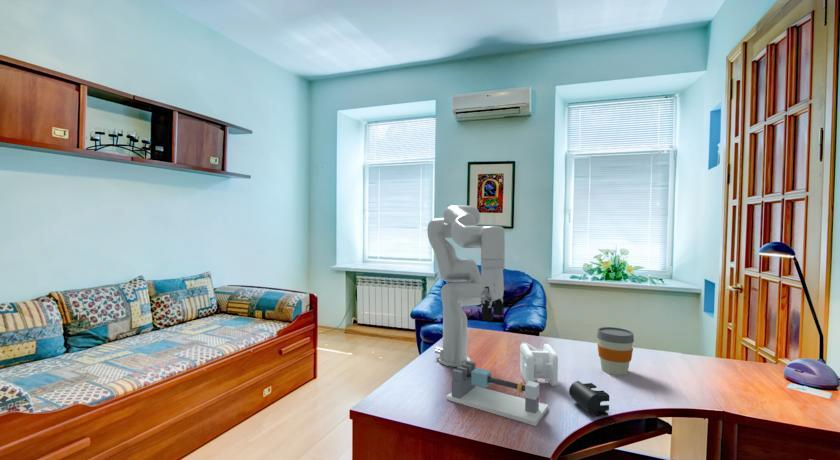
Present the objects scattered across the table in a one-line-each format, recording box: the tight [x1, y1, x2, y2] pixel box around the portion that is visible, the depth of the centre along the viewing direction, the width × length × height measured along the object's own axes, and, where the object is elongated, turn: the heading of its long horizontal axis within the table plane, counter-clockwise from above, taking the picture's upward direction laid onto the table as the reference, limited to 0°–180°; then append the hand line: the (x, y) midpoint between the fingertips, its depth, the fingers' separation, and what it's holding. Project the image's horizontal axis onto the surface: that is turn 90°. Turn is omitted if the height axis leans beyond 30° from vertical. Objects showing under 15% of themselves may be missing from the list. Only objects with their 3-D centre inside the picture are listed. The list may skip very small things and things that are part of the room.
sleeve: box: [471, 367, 493, 389], centre depth 123 cm, size 5×4×4 cm
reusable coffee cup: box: [596, 326, 635, 376], centre depth 150 cm, size 13×13×15 cm
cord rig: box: [446, 361, 549, 427], centre depth 121 cm, size 28×12×9 cm, turn 57°
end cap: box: [568, 380, 610, 418], centre depth 118 cm, size 10×7×7 cm
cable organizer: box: [519, 343, 559, 388], centre depth 139 cm, size 15×11×12 cm
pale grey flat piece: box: [521, 342, 543, 351], centre depth 170 cm, size 25×24×1 cm
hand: (492, 317), depth 127 cm, fingers open, 9 cm apart
